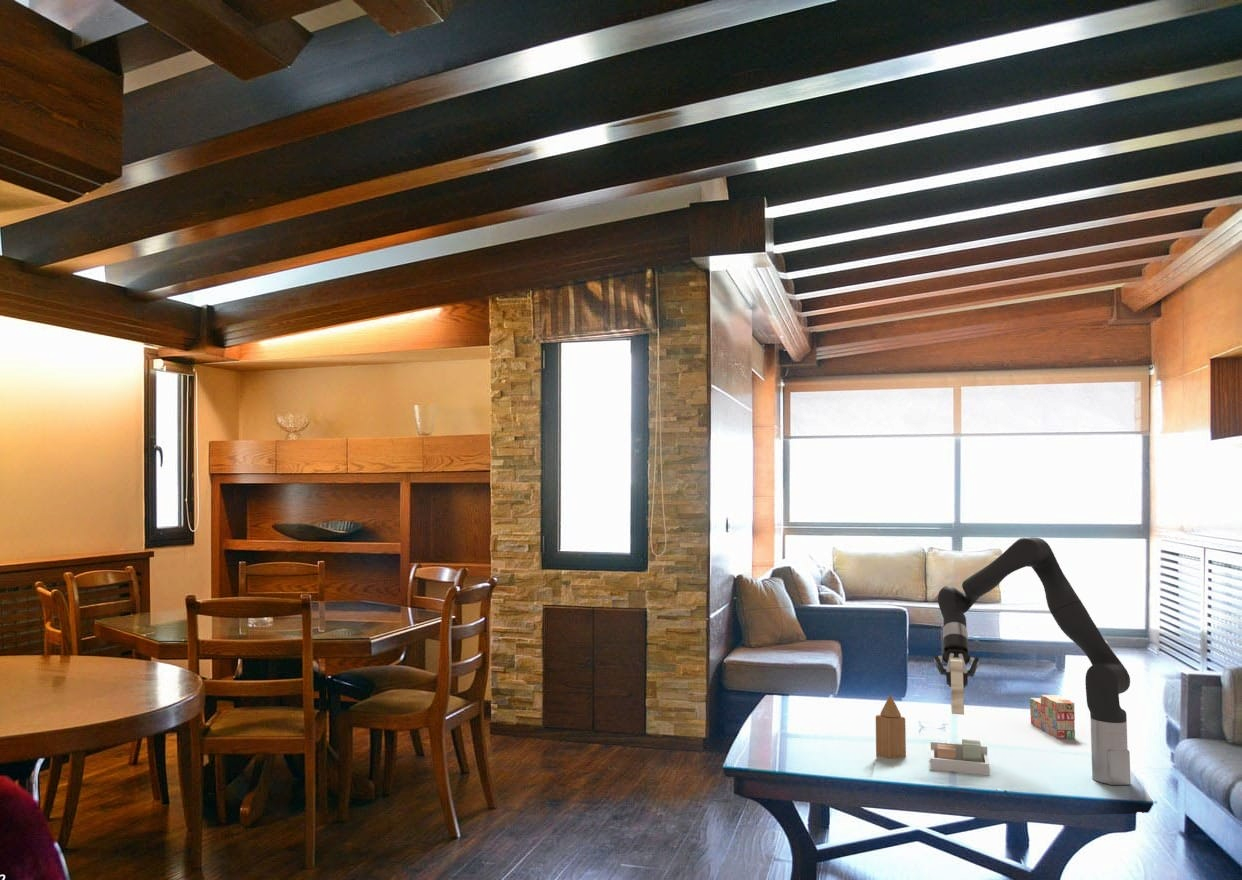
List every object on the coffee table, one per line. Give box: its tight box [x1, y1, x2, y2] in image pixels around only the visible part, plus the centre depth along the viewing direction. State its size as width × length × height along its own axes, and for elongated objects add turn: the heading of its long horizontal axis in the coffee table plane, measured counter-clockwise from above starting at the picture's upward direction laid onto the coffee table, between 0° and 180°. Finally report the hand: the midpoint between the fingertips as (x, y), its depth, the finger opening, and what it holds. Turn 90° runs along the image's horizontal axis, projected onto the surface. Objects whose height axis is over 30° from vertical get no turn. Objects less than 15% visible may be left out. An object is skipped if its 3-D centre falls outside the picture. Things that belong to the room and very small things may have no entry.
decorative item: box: [875, 693, 907, 760], centre depth 276 cm, size 7×7×20 cm
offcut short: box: [938, 744, 956, 760], centre depth 266 cm, size 5×5×5 cm
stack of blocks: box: [1029, 694, 1076, 740], centre depth 314 cm, size 21×6×12 cm, turn 178°
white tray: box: [929, 738, 991, 776], centre depth 270 cm, size 24×16×6 cm, turn 160°
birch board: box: [950, 657, 965, 716], centre depth 276 cm, size 7×4×16 cm, turn 160°
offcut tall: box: [961, 738, 982, 762], centre depth 264 cm, size 6×5×7 cm
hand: (957, 685), depth 274 cm, fingers closed on birch board, 3 cm apart
